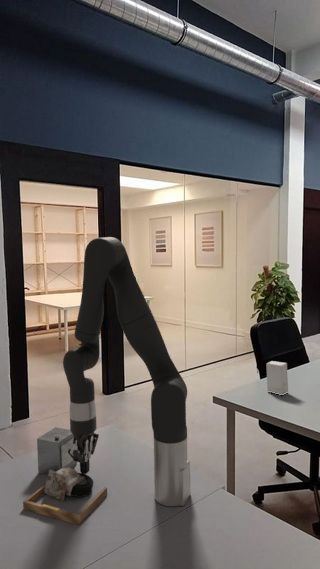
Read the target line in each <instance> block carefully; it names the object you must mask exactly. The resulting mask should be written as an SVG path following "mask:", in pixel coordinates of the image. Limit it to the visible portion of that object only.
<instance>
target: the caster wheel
mask: <svg viewBox="0 0 320 569" xmlns="http://www.w3.org/2000/svg"><path fill="white" fill-rule="evenodd" d="M45 484H46V486H45V490H44V492H45V495H48V496H50V497H52V498H54V499H56V500H57V501H59V502H61V503H63V502H64V501H65V496H69V497H72V496H73V497H78V498H81V497H86V496H89V495H90V494H91V493H92V491H93V487H94V480H93V478H92V477H91V476H89V474H83V473H81V472H78V471H77V470H76V469H75V468H74V467H73V468H70V467H67V468H62V469H60V470H58V471H56V472H54V471H52V470H49V473H48V475H47V478H46V483H45Z"/></svg>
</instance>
